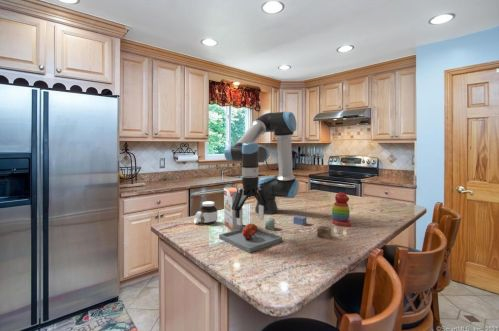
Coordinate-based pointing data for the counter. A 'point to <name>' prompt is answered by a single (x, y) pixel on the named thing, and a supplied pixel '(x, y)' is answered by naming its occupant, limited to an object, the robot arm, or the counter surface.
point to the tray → (250, 240)
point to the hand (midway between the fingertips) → (250, 221)
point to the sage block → (269, 224)
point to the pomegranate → (249, 230)
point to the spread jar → (206, 213)
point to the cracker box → (230, 209)
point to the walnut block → (324, 232)
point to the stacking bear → (341, 210)
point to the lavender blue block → (299, 220)
